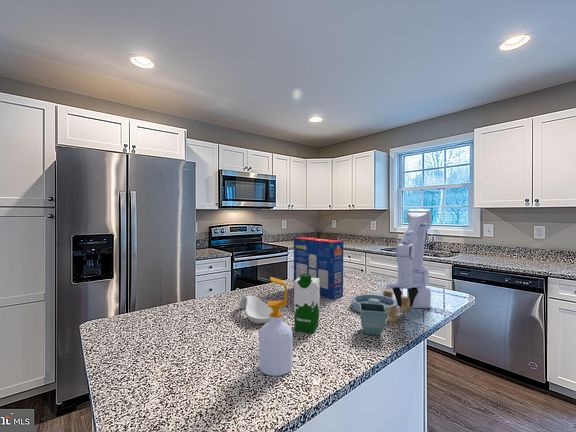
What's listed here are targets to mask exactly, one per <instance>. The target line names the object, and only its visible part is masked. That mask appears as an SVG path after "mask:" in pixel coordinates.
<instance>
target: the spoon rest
mask: <svg viewBox="0 0 576 432" xmlns="http://www.w3.org/2000/svg"><path fill="white" fill-rule="evenodd" d="M238 309H240V310H241V309H242V310H243V309H245V315H246V317H247V318H248V320H249V321H250V322H252V323H254V324H258V325H265V324H266V323H268V322H270V313H271V312H273V309H272V308H271V307H268V303H267V304H266V303H265V302H264V301H263V300H261V299H259V298H258V297H256V296H255V295H254V294H253V295H250V294H249V295H244V296H242V297H241V299H240V300H239V304H238Z"/></svg>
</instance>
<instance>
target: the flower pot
mask: <svg viewBox="0 0 576 432" xmlns="http://www.w3.org/2000/svg"><path fill="white" fill-rule="evenodd" d="M359 305H360V313H359V316H360V325H361V328H362V330H363V332H364V334H365V335H375V336H380V335H381V334H382V333H383V331H384V329H385V326H386V321H387V316H386V315H387V311H386V309H385V306H384V305H383V304H370V303H359Z"/></svg>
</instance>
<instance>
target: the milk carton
mask: <svg viewBox="0 0 576 432" xmlns="http://www.w3.org/2000/svg"><path fill="white" fill-rule="evenodd" d="M293 288H294V289H293V291H294V293H293V294H294V295H293V300H294V301H293V308H294V309H293V313H294V314H293V315H294V316H293V318H294V319H293V321H294V331H296V332H301V333H309V334H315V333H316V331H317V328H318V327H319V324H320V323H319V322H320V321H319V320H320V296H319V290H320V287H319V278H311V275H310V274H301V275H300V277H299V278H297V279H296V280H295V281H294V280H293Z"/></svg>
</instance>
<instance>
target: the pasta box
mask: <svg viewBox="0 0 576 432" xmlns="http://www.w3.org/2000/svg"><path fill="white" fill-rule="evenodd" d="M301 274H310V275H311V278H319V287H320V290H319V297H322V298H326V299H329V300H337V299H340V298H343V297H344V240H337V239H327V238H318V237H317V238H316V237H306V236H303V237H301V236H300V237H293V282H294V281H295V280H296V279H297V278H299V277H300V275H301Z"/></svg>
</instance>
